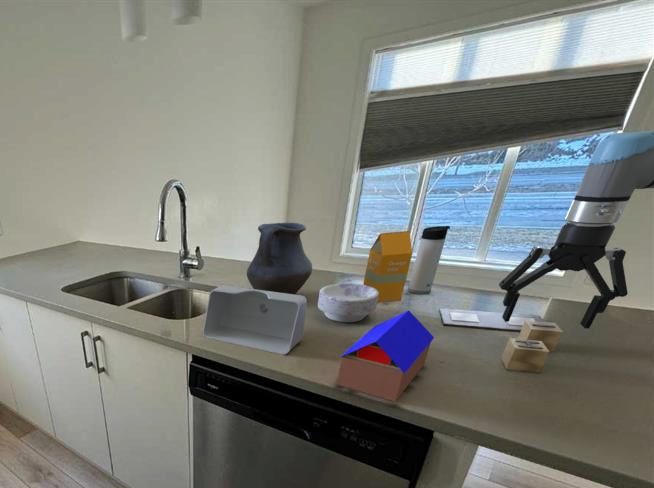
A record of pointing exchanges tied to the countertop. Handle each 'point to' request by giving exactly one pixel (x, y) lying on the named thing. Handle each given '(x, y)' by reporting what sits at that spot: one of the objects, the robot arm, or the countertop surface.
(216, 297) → the gray plastic bin
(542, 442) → the countertop surface
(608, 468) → the countertop surface
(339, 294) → the paper bowls
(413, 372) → the house
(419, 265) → the travel mug
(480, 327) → the word board
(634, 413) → the countertop surface
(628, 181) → the robot arm
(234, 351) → the countertop surface
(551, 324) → the wooden letter tile box
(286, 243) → the pitcher
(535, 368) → the wooden letter cube
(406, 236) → the orange juice
